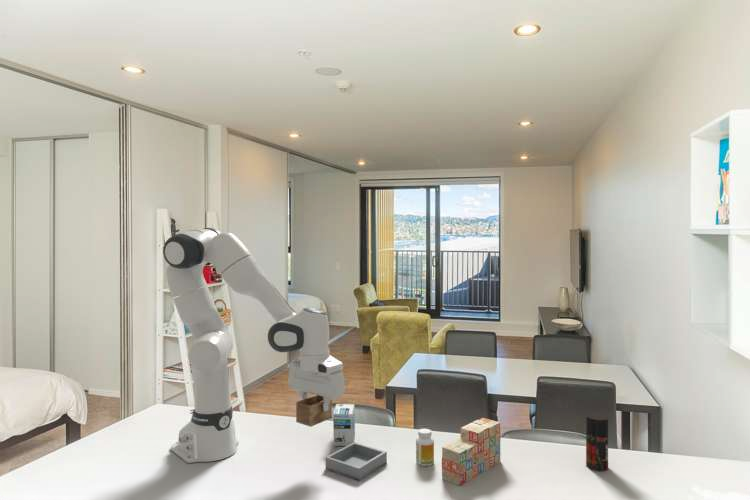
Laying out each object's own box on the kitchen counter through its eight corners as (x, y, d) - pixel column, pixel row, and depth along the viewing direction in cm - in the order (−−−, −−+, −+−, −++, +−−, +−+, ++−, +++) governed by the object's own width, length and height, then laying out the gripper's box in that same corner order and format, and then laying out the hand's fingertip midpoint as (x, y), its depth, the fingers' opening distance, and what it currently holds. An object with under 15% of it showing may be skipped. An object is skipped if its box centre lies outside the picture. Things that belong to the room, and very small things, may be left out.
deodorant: (586, 460, 150) (586, 411, 150) (608, 464, 147) (608, 414, 147) (585, 469, 144) (585, 418, 144) (608, 473, 142) (607, 421, 142)
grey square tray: (325, 469, 146) (325, 457, 146) (354, 453, 157) (354, 442, 156) (359, 481, 138) (358, 468, 138) (386, 463, 149) (386, 451, 149)
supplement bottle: (437, 462, 150) (437, 430, 149) (426, 468, 146) (426, 435, 145) (423, 457, 153) (423, 426, 153) (412, 462, 149) (412, 431, 149)
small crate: (310, 426, 142) (310, 406, 142) (296, 422, 146) (296, 402, 146) (331, 417, 149) (331, 398, 149) (317, 413, 153) (317, 394, 153)
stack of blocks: (459, 486, 135) (459, 442, 135) (441, 479, 139) (441, 436, 139) (500, 462, 150) (500, 421, 150) (483, 455, 154) (483, 416, 154)
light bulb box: (353, 446, 162) (353, 414, 161) (333, 446, 162) (332, 414, 162) (355, 434, 172) (355, 403, 172) (336, 434, 172) (336, 403, 172)
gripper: (283, 359, 151) (283, 404, 152) (333, 369, 139) (333, 417, 139) (298, 355, 157) (298, 399, 157) (347, 364, 144) (348, 411, 145)
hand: (315, 407), depth 148 cm, fingers closed on small crate, 6 cm apart
